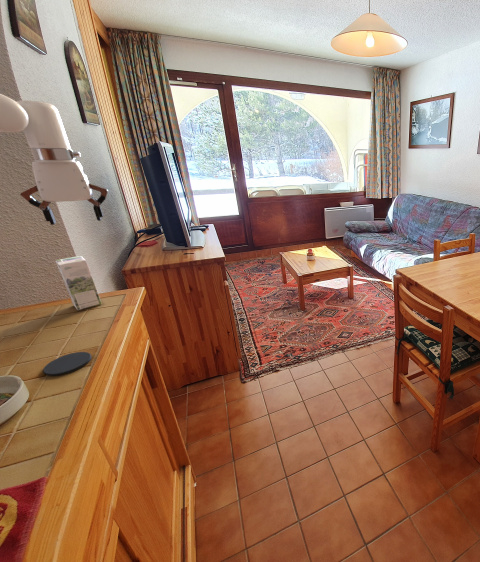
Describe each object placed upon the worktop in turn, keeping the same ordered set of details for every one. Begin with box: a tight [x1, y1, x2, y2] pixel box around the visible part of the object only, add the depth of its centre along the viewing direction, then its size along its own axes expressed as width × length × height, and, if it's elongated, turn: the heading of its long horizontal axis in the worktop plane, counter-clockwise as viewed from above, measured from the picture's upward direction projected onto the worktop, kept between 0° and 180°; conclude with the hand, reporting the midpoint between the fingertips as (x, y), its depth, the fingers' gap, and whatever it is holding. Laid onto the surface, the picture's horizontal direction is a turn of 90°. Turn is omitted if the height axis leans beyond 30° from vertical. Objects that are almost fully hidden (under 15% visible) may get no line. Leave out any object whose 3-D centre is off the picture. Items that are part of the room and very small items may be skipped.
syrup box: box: [55, 255, 103, 311], centre depth 90 cm, size 6×6×14 cm
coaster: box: [42, 351, 92, 377], centre depth 67 cm, size 8×8×1 cm
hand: (77, 221), depth 87 cm, fingers open, 9 cm apart
